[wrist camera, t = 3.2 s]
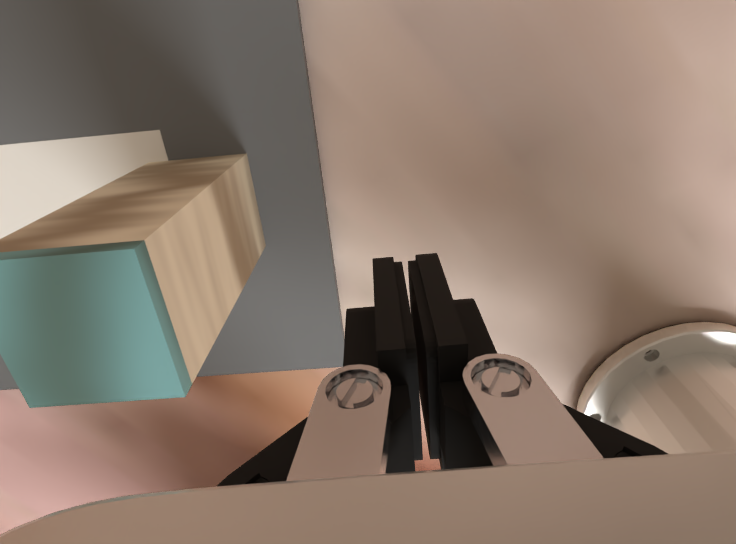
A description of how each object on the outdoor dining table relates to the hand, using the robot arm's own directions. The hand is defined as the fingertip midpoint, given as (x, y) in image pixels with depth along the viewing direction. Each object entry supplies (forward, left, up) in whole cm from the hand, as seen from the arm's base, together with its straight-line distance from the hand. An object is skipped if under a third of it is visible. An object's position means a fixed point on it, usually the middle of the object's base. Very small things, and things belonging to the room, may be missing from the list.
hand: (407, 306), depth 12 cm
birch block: (+10, 0, -12) cm, 16 cm away
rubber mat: (+17, 0, -13) cm, 21 cm away
